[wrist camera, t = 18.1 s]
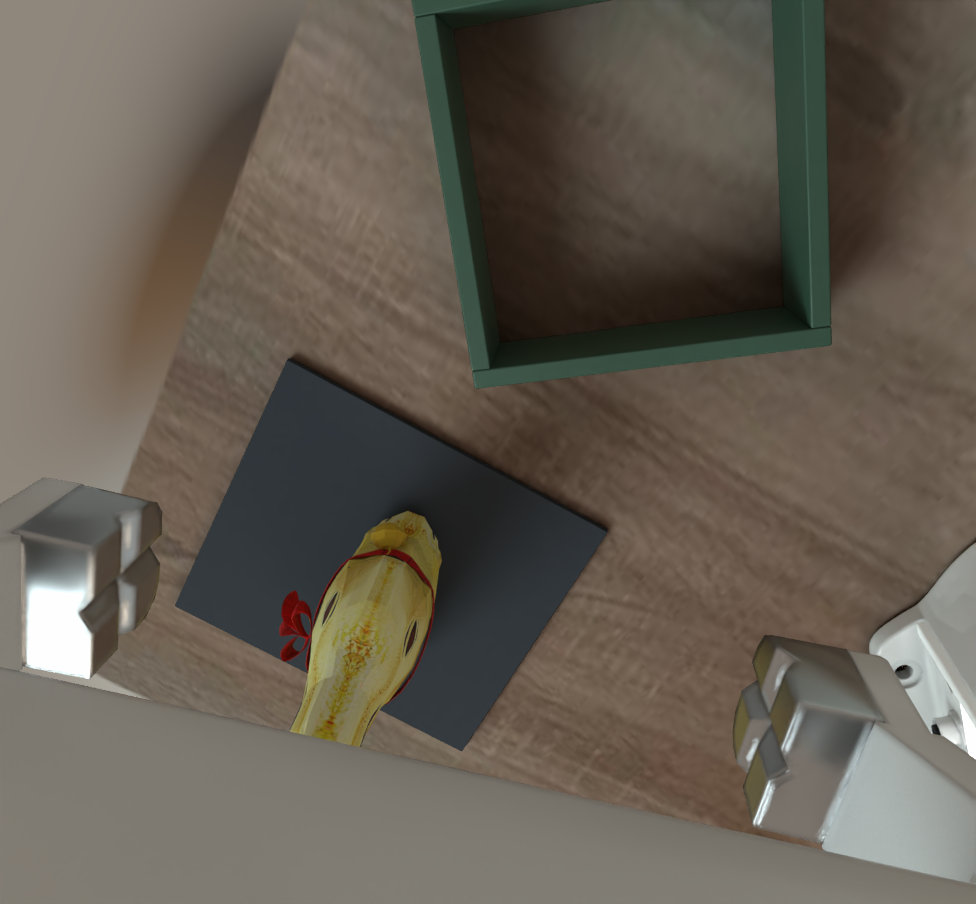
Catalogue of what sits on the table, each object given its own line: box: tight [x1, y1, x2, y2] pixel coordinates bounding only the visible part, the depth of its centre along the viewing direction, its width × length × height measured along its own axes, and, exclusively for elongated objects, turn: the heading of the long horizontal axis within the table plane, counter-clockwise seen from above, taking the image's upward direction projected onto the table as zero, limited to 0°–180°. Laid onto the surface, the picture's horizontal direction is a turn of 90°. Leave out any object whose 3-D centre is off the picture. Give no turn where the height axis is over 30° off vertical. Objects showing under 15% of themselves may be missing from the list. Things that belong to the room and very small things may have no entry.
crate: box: [412, 0, 832, 389], centre depth 35 cm, size 15×15×5 cm
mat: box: [175, 358, 608, 751], centre depth 45 cm, size 18×16×1 cm
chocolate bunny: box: [279, 511, 442, 747], centre depth 38 cm, size 7×11×15 cm, turn 160°
